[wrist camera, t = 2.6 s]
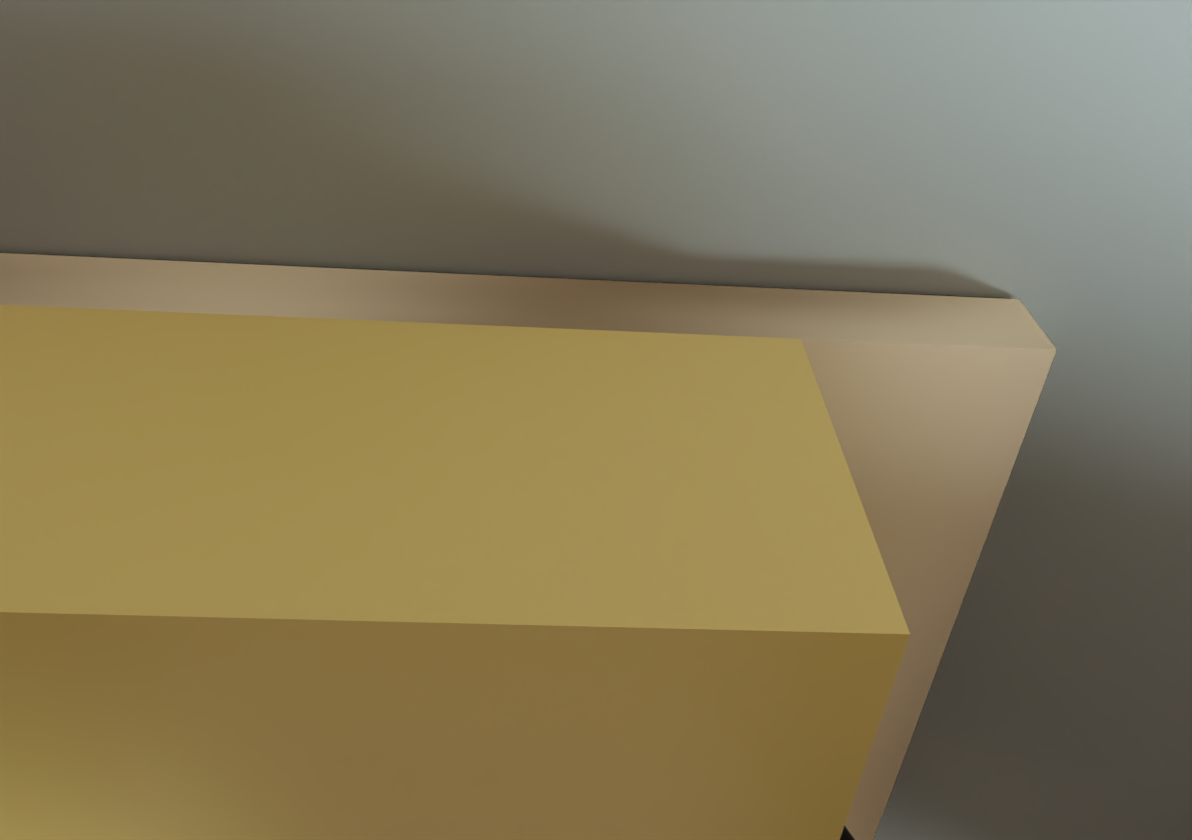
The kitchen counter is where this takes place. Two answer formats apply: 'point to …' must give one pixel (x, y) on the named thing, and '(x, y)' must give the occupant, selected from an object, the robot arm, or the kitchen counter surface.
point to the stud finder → (427, 583)
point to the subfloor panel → (819, 318)
